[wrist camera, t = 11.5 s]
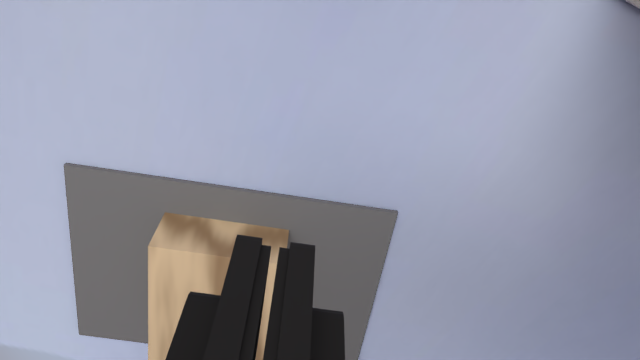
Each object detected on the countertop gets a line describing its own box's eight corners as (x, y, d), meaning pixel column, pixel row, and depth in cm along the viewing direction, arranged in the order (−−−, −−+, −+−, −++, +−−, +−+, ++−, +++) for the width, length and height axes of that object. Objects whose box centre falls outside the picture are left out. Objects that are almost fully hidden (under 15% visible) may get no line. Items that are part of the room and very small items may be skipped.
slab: (284, 264, 39) (148, 246, 39) (267, 375, 45) (148, 360, 44) (289, 229, 43) (165, 212, 42) (272, 335, 49) (163, 321, 48)
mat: (397, 210, 42) (397, 213, 42) (354, 366, 51) (354, 369, 51) (65, 162, 41) (63, 165, 41) (80, 331, 50) (79, 334, 49)
